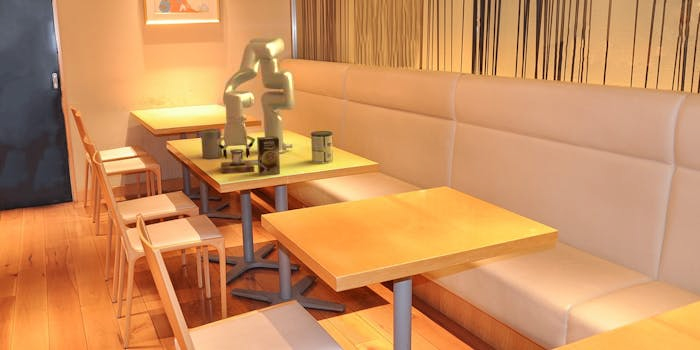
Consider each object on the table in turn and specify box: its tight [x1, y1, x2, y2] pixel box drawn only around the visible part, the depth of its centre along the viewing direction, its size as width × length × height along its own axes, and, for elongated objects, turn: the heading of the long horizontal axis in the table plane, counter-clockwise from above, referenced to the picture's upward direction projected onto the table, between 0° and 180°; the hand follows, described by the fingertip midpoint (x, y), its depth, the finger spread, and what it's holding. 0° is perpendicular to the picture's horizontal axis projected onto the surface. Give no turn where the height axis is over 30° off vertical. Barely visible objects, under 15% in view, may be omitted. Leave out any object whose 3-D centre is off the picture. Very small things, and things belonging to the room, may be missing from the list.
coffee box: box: [256, 136, 281, 176], centre depth 282 cm, size 9×6×16 cm
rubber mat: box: [243, 159, 258, 166], centre depth 306 cm, size 10×10×1 cm
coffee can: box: [310, 130, 334, 164], centre depth 306 cm, size 10×10×14 cm
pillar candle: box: [200, 127, 223, 160], centre depth 319 cm, size 10×10×15 cm
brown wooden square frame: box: [220, 161, 255, 175], centre depth 292 cm, size 14×14×2 cm
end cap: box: [229, 148, 244, 166], centre depth 291 cm, size 6×6×9 cm
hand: (236, 157), depth 291 cm, fingers open, 9 cm apart
